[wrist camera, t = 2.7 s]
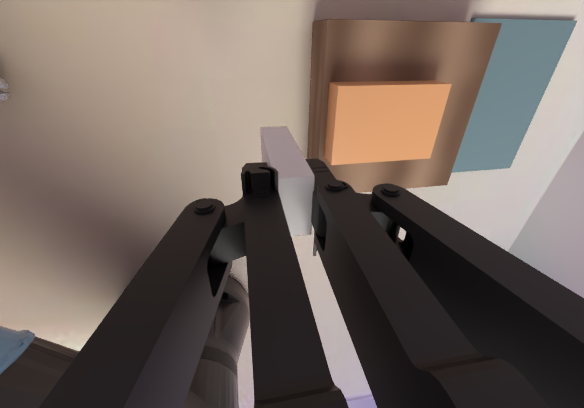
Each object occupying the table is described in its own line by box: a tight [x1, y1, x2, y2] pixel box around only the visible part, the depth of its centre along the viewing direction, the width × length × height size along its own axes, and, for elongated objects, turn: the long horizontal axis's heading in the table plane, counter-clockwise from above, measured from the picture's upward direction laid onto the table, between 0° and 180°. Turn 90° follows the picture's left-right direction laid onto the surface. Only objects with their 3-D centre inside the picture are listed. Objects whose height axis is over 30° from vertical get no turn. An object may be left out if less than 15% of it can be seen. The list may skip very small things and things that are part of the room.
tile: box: [324, 80, 452, 165], centre depth 22 cm, size 9×6×2 cm, turn 89°
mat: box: [451, 18, 577, 173], centre depth 29 cm, size 11×15×1 cm
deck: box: [307, 19, 502, 193], centre depth 25 cm, size 14×14×4 cm
